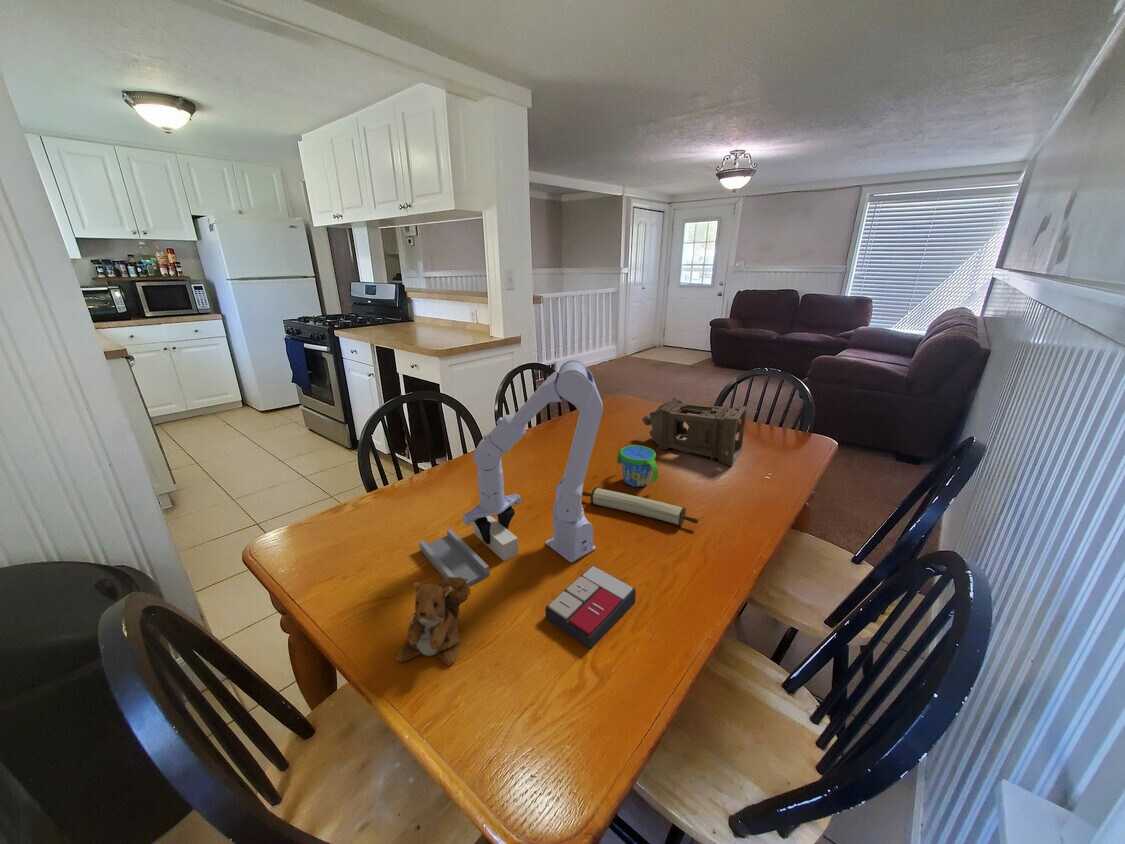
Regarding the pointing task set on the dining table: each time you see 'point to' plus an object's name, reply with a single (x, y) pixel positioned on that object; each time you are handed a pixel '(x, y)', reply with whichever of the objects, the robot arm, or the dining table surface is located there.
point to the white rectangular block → (499, 539)
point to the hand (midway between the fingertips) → (495, 538)
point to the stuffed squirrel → (436, 620)
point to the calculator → (591, 606)
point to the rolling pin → (639, 506)
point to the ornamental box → (699, 429)
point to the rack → (455, 558)
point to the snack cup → (637, 465)
